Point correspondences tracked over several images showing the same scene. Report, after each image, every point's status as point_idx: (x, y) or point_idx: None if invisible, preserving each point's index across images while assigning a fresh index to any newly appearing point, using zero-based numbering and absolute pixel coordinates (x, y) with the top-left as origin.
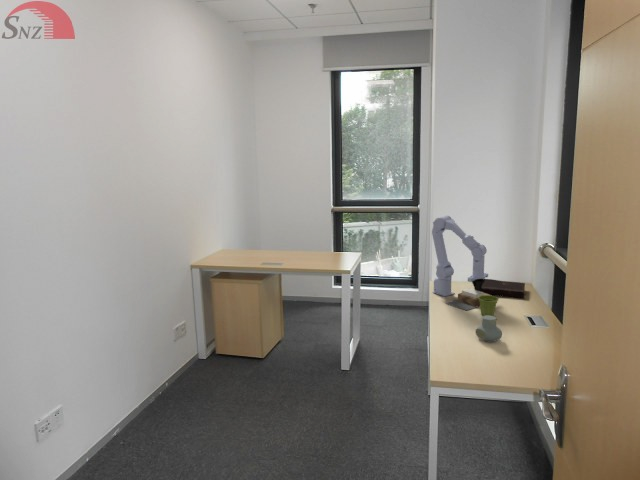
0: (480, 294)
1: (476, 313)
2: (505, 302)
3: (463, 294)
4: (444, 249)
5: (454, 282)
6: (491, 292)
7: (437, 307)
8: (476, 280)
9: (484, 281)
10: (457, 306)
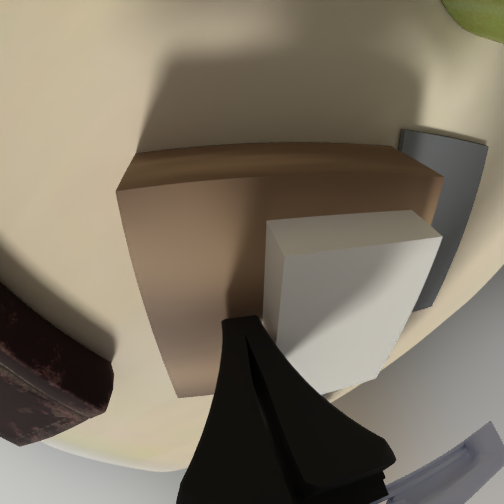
0: (347, 234)
1: (488, 66)
2: (9, 72)
3: None
4: None
5: (115, 455)
6: (6, 313)
7: (483, 276)
8: (373, 486)
9: (186, 484)
10: (456, 233)
